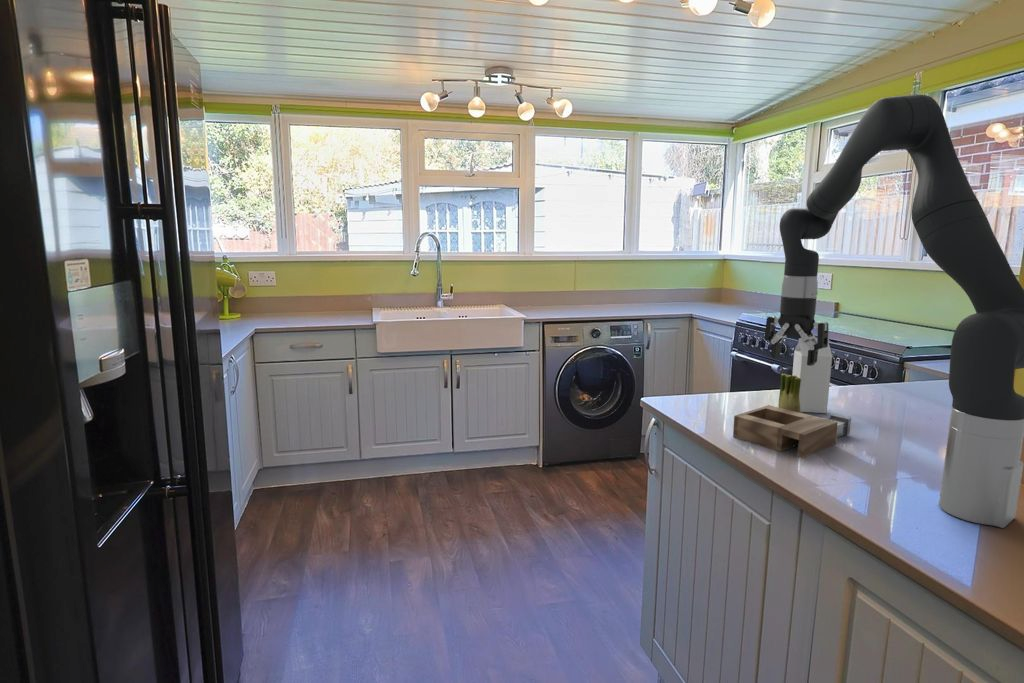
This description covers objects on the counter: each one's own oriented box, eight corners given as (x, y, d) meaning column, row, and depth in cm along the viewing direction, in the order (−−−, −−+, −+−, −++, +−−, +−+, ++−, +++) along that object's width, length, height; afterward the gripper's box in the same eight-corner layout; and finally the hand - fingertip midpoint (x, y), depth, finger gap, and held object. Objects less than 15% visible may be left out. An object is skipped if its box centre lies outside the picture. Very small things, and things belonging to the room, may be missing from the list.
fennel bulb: (774, 418, 144) (778, 372, 141) (795, 419, 143) (799, 372, 141) (781, 425, 138) (785, 377, 136) (803, 426, 137) (807, 378, 135)
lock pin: (849, 434, 131) (851, 418, 130) (820, 446, 123) (822, 429, 123) (831, 429, 134) (833, 414, 133) (802, 441, 127) (803, 424, 126)
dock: (835, 443, 126) (837, 421, 125) (802, 457, 118) (804, 434, 117) (767, 425, 138) (768, 405, 138) (733, 436, 130) (734, 415, 130)
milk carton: (827, 413, 147) (833, 341, 144) (797, 412, 149) (803, 340, 145) (818, 405, 154) (824, 336, 151) (789, 404, 155) (795, 335, 152)
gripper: (761, 293, 138) (756, 359, 141) (821, 298, 127) (814, 369, 130) (778, 291, 143) (773, 355, 146) (837, 296, 131) (831, 365, 134)
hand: (793, 362), depth 138 cm, fingers open, 8 cm apart
